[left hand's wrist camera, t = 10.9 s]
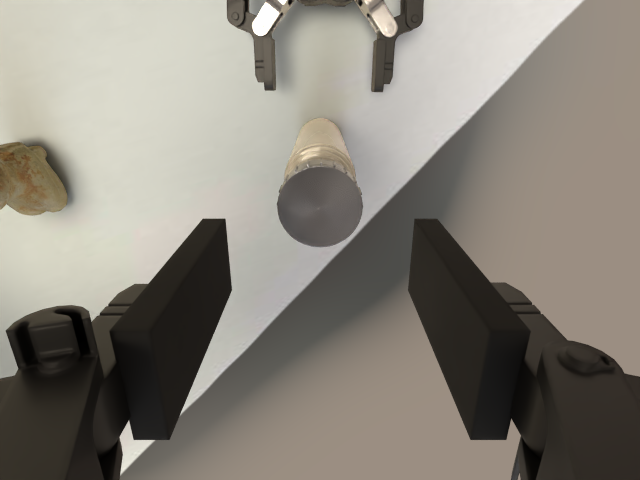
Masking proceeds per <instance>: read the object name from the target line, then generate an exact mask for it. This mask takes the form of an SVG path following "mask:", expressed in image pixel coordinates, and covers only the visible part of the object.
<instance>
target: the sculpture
mask: <svg viewBox="0 0 640 480" xmlns="http://www.w3.org/2000/svg"><path fill="white" fill-rule="evenodd" d="M46 157H47V153H46V151H45V150H44V149H43V148H42V147H40V146H29V147H26V146H25V145H24V144H22V143H20V142H15V143H8V144H3V145H0V209H2V208H3V207H4V206H5V205H6V204H7V205H8V206H10V207H11V208H13V209H14V210H16V211H17V212H19V213H21V214H24V215H39V214H42V213H44V212H46V211H50V212H56V211H60V210H62V209H63V208H64V207H65V206H66V204H67V193H66V190H65V188H64V186H63V184H62V182H61V181H60V179H59V178H58V176H57V175H56V173H55V172H54V171H53V170H52V168H51V167H50V166H49V164H48V163H47V162H46V159H45V158H46Z"/></svg>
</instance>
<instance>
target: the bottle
mask: <svg viewBox="0 0 640 480" xmlns="http://www.w3.org/2000/svg"><path fill="white" fill-rule="evenodd" d="M320 158H322V159H323V160H330V161H333V160H334V161H335V162H336V163H338V164H340V165H341V166H343V167H346V168H347V170H348V171H349V172H350V173H351V174H352V176H354V177H355V179H356V176H355V170H354V166H353V164H352V161H351V159H350V156H349V153H348V151H347V148H346V145H345V143H344V140H343V138H342V135H341V132H340V130H339V129H338V127H337V126H336V125H335V124H334V123H333V122H331V121H330V120H327V119H323V118H317V119H313V120H310V121H309V122H307V123H306V124H305V125H304V126H303V127H302V129H301V130H300V132H299V135H298V138H297V140H296V143H295V146H294V148H293V151H292V153H291V156H290V159H289V161H288V164H287V167H286V170H285V177H284V180H285V178H286V175H287V174H289V173H290V172H291V171H292V170H293V169H294V168H295V167H296V165H297V166H299V165H300V164H302V163H304V162H307V160H309V161H310V160H317V159H320Z"/></svg>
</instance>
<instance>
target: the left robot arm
mask: <svg viewBox="0 0 640 480" xmlns="http://www.w3.org/2000/svg"><path fill="white" fill-rule="evenodd" d="M231 291H232V286H231V275H230V264H229V253H228V242H227V231H226V220H225V219H202V221H201V222H200V223H199V224H198V225H197V227H196V228H195V229H194V230H193V231H192V233H191V234H190V235H189V236H188V237H187V238H186V240H185V241H184V242H183V243H182V244H181V246H180V247H179V248H178V249H177V250H176V252H175V253H174V254H173V255H172V256H171V258H170V259H169V260H168V261H167V262H166V264H165V265H164V266H163V267H162V268H161V270H160V271H159V272H158V273H157V274H156V276H155V277H154V278H153V279H152V280H151V282H150V283H149V284H134V285H132V286H131V287H129V288H127V289H125V290H124V291H122V292H120V293H118V295H117V296H116V297H115V298H114V299H113V300H112V301H111V302H110V303H109V304H108V306H106V307H105V308H104V309H103V311H102V312H101V313H100V316H97V317H96V318H95V319H94V320H93V321H92V322H91V319H90V314H89V311H88V310H86V309H85V308H83V307H79V306H73V305H67V306H56V307H51V308H47V309H42V310H40V311H37V312H34V313H32V314H29V315H27V316H25V317H23V318H21V319H20V320H18V321H16V322H14V323H13V324H12V325H11V326H10V327H9V328H8V329H7V330H6V333H7V336H8V339H9V342H10V345H11V348H12V351H13V354H14V357H15V360H16V363H17V366H18V371H17V373H16V375H15V376H11V377H6V378H1V379H0V480H119V479H120V471H121V463H122V456H123V453H122V446H121V442H120V438H119V437H120V435H121V433H122V431H123V429H124V428H125V426H126V424H127V422H128V421H130V426H131V430H132V434H133V439H134V440H169V439H170V437H171V435H172V432H173V430H174V428H175V425H176V423H177V420H178V418H179V416H180V413H181V411H182V408H183V406H184V404H185V401H186V399H187V396H188V394H189V392H190V389H191V387H192V385H193V382H194V380H195V377H196V375H197V373H198V370H199V368H200V365H201V363H202V361H203V358H204V356H205V353H206V351H207V349H208V346H209V344H210V341H211V339H212V337H213V334H214V332H215V329H216V327H217V325H218V322H219V320H220V317H221V315H222V313H223V310H224V308H225V305H226V303H227V301H228V298H229V296H230V293H231ZM408 291H409V293H410V296H411V298H412V301H413V303H414V305H415V308H416V310H417V312H418V315H419V317H420V320H421V322H422V325H423V327H424V329H425V332H426V334H427V337H428V339H429V341H430V344H431V346H432V348H433V351H434V353H435V356H436V358H437V361H438V363H439V365H440V368H441V370H442V373H443V375H444V377H445V380H446V382H447V385H448V387H449V389H450V392H451V394H452V396H453V399H454V401H455V404H456V406H457V408H458V411H459V413H460V416H461V418H462V420H463V423H464V425H465V428H466V430H467V432H468V435H469V437H470V439H471V440H506V439H507V434H508V430H509V426H510V421H511V418H512V420H513V422H514V424H515V425H516V427H517V429H518V431H519V433H520V434H521V438H520V442H519V446H518V450H517V454H516V459H515V463H514V467H513V471H512V477H511V480H517V479H518V475H519V473H520V477H521V480H640V377H638V376H633V375H628V374H624V372H623V370H622V368H621V367H620V366H619V365H618V363H617V362H616V361H615V360H614V359H613V358H611V357H610V356H608V355H607V354H605V353H604V352H602V351H600V350H598V349H596V348H594V347H591V346H589V345H586V344H582V343H579V342H575V341H568V340H567V339H566V338H565V337H564V336H563V335H562V334H561V333H560V332H559V331H558V330H557V329H556V328H555V327H554V326H553V325H552V324H551V322H550V321H549V320H548V319H547V318H546V317H545V316H544V315H543V314H541V313H540V311H539V310H538V309H537V308H536V307H535V306H534V305H532V302H531V301H530V300H529V299H528V298H527V297H526V296H525V295H524V294H523V293H522V292H521V291H519V290H517V289H516V288H514V287H512V286H510V285H509V284H507V283H490V282H489V280H488V279H487V278H486V277H485V276H484V274H483V273H482V272H481V271H480V270H479V268H478V267H477V266H476V265H475V264H474V262H473V261H472V260H471V259H470V258H469V256H468V255H467V254H466V253H465V252H464V250H463V249H462V248H461V247H460V246H459V244H458V243H457V242H456V241H455V240H454V238H453V237H452V236H451V235H450V234H449V233H448V231H447V230H446V229H445V228H444V227H443V225H442V224H441V223H440V222H439V221H438V219H415V220H414V231H413V242H412V253H411V264H410V275H409V286H408Z"/></svg>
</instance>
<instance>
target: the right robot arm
mask: <svg viewBox="0 0 640 480" xmlns="http://www.w3.org/2000/svg"><path fill="white" fill-rule="evenodd" d="M294 1H295V0H267V1H266V2H265V4H264V6H263V7H262V9H261V10H260V12H259V13H258V15H257V16H256V15H253V14H251V13H249V0H227V18H228V21H229V22H230V23H231V24H232V25H234V26H235V27H237V28H239V29H242V30H244V31H246V32H249V33H250V34H251V35H252V36H253V39H254V53H255V75H256V78H257V80H258V82H264V87H265V90H270V91H274V90H276V70H275V40H274V39H273V38H272V33H273V31H274V30H275V28H276V27H277V25H278V24H279V22H280V21H281V19H282V18H283V16H285V14H286V13H287V12H288V10H289V9H290V7H291V6H292V4H293V3H294ZM297 1H299V2H300V3H302V4H305V6H316V5H320V4H323V3H327V4H330V5H333V6H345V5H346V4H349V3H351V2H352V1H354V0H297ZM355 2H356V4H357V5H358V7H359V9H360V10H361V12H362V13H363V15H364V16H365V17H366V18H367V19H368V21H369V23H370V24H371V26H372V27H373V29H374V31H375V32H376V34H377V40H376V41H374V46H373V65H372V84H371V91H372V92H383V87H384V84H390V82H391V79H392V76H393V62H394V48H395V40H396V38H397V37H398V36H399V35H400V34H403V33H405V32H408V31H411V30H413V29H415V28H417V27H419V26H420V25H421V23H422V21H423V3H424V0H401V13H400V15H399V16H397V17H394V18H393V16H392V14H391V13H390V11H389V9H388V8H387V6H386V4H385V3H384V0H355Z"/></svg>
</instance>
